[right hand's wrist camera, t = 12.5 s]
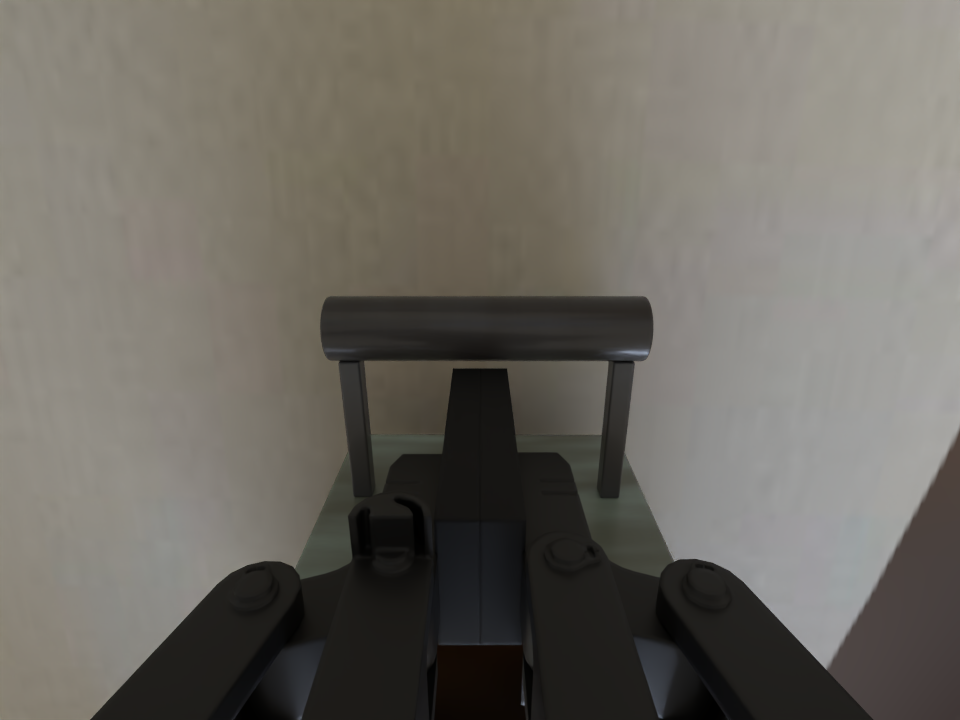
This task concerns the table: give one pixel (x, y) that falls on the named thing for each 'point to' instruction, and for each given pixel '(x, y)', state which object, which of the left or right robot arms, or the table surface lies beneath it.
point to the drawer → (593, 458)
